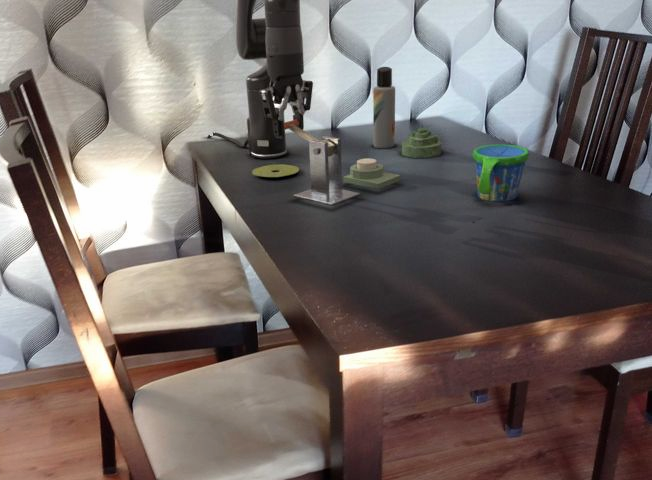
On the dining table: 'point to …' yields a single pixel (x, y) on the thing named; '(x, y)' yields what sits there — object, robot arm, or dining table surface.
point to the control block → (371, 177)
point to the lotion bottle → (384, 109)
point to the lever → (306, 134)
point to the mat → (275, 170)
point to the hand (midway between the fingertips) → (289, 135)
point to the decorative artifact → (421, 144)
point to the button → (366, 164)
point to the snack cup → (499, 171)
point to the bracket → (326, 174)
